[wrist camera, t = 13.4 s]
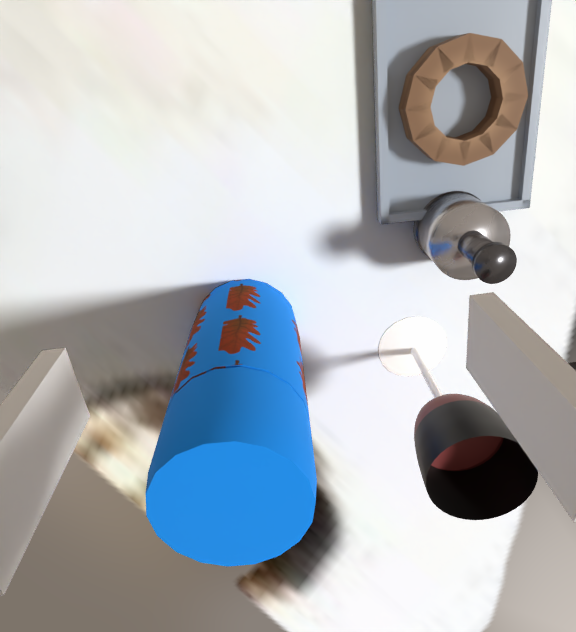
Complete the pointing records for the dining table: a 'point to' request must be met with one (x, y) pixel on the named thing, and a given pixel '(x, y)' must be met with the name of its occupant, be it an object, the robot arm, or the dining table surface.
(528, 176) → the tray
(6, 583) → the robot arm
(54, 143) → the dining table surface
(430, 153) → the ring
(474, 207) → the metal peg stand
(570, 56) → the dining table surface
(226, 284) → the thermos
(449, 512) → the wineglass
